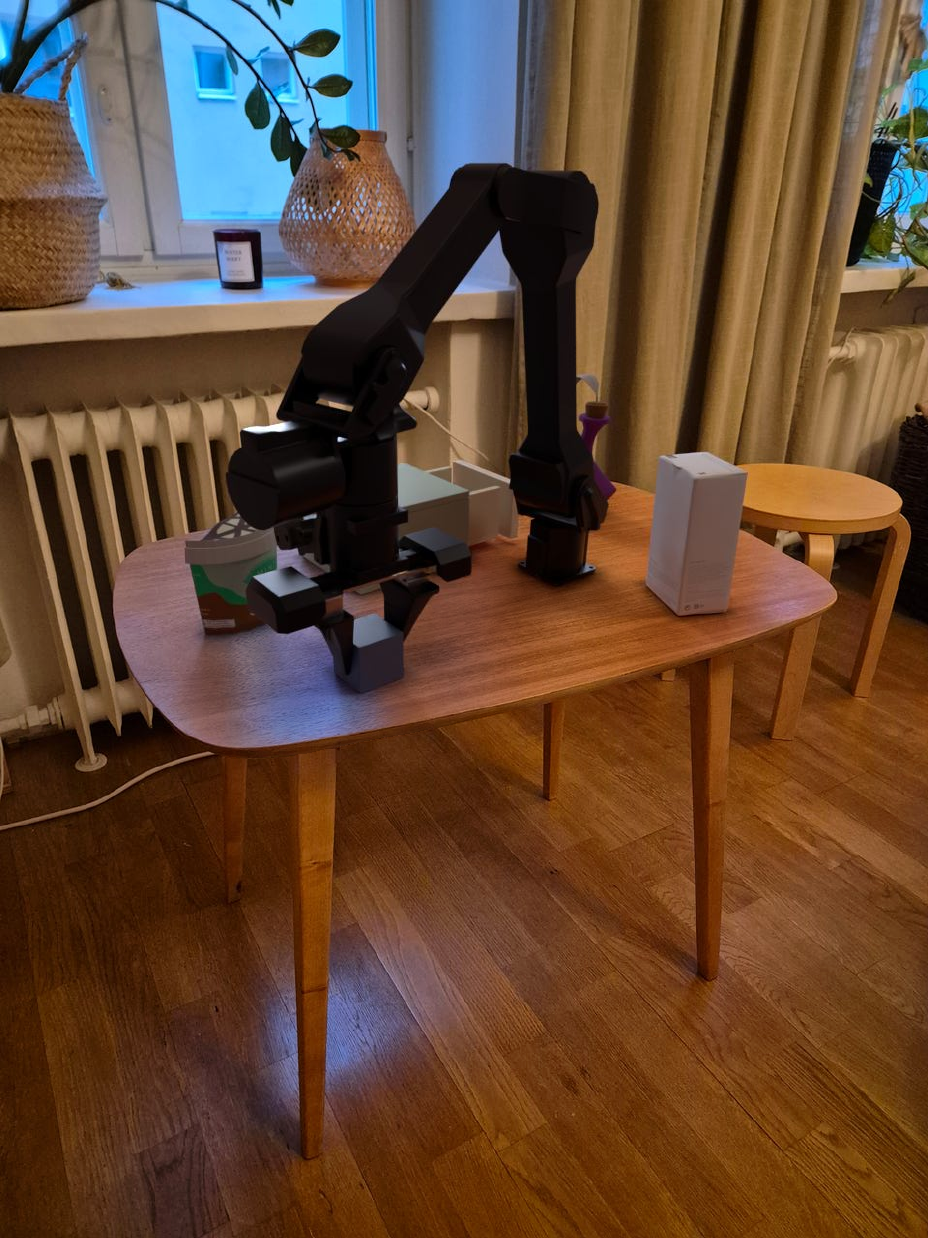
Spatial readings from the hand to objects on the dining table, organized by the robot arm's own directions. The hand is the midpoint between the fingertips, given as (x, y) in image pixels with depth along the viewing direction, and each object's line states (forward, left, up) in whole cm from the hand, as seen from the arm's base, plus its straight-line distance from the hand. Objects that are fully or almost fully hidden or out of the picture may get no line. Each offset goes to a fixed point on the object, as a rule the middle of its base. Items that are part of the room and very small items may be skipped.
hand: (368, 664), depth 70 cm
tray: (-26, -20, 0) cm, 33 cm away
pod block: (0, 0, -1) cm, 1 cm away
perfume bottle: (-44, -18, -1) cm, 48 cm away
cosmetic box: (-35, +7, -1) cm, 36 cm away
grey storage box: (-15, -20, -1) cm, 25 cm away
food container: (+3, -16, -1) cm, 16 cm away
